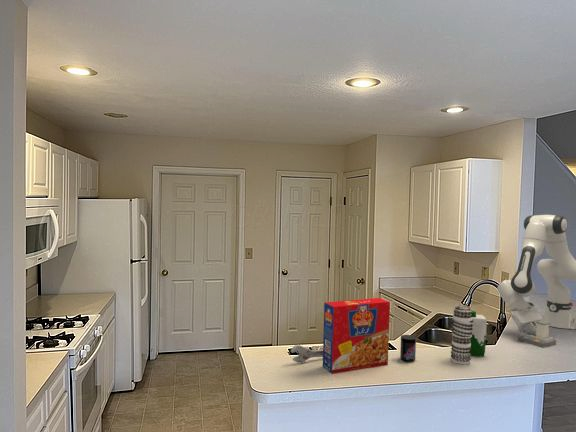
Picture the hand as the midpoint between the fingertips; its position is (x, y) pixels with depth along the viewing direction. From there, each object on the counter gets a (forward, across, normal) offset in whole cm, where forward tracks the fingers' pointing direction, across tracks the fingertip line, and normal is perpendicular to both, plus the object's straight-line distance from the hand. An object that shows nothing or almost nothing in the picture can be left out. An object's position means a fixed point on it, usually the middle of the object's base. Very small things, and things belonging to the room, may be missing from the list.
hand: (537, 330), depth 225 cm
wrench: (-18, -116, +27) cm, 120 cm away
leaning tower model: (+4, -59, +5) cm, 59 cm away
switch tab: (+4, 0, +1) cm, 4 cm away
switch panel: (+4, 0, +4) cm, 6 cm away
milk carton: (+1, -45, +7) cm, 46 cm away
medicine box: (-6, +15, +14) cm, 21 cm away
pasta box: (-8, -106, +17) cm, 108 cm away
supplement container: (-5, -80, +14) cm, 81 cm away
